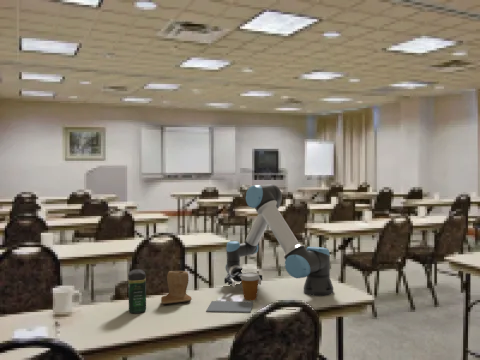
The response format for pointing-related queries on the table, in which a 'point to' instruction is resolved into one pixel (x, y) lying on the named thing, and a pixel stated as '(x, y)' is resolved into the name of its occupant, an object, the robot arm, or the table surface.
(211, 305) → the rubber mat
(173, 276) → the tan ankle boots
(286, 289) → the table surface
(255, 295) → the disposable coffee cup
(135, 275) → the coffee jar
